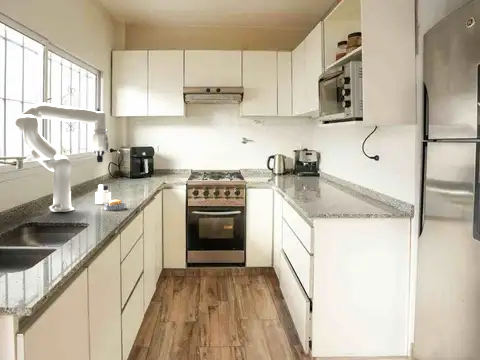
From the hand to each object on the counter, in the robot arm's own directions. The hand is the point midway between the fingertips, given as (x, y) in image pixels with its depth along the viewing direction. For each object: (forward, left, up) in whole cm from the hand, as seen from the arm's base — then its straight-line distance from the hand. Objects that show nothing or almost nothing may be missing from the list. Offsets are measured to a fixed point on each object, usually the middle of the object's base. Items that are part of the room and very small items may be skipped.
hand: (99, 162), depth 291 cm
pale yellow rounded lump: (-8, -14, -26) cm, 31 cm away
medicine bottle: (+10, +4, -27) cm, 29 cm away
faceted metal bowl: (-8, -14, -27) cm, 32 cm away
